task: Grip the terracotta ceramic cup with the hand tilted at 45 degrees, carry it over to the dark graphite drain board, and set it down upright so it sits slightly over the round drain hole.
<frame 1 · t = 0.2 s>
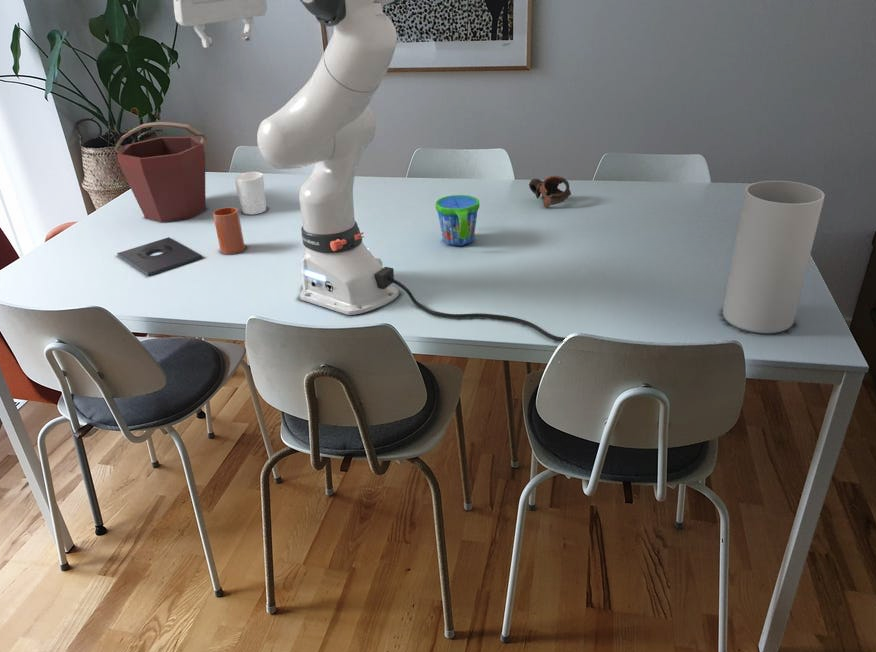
hand: (227, 43, 158), 48 cm above the table, tool pointing down, fingers open, 8 cm apart
cup: (232, 249, 184), on the table
pottery mug: (549, 202, 202), on the table
white cup: (254, 211, 208), on the table
snack cup: (458, 241, 181), on the table
bucket: (175, 212, 211), on the table
drain plate: (159, 257, 182), on the table
cylinder vase: (756, 320, 140), on the table
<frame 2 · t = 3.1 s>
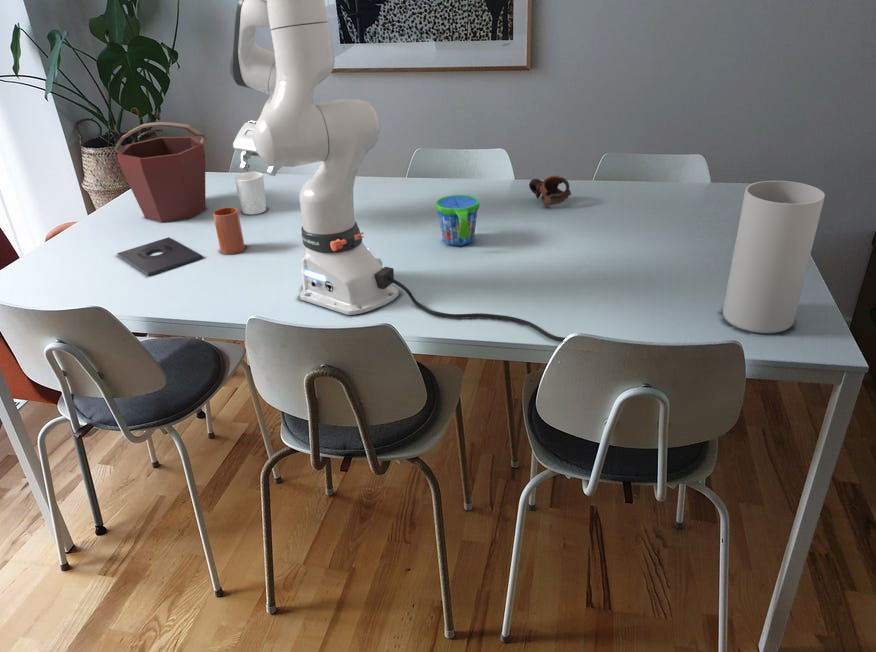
hand: (256, 172, 185), 16 cm above the table, tool tilted 45°, fingers open, 8 cm apart
nothing on the table moved.
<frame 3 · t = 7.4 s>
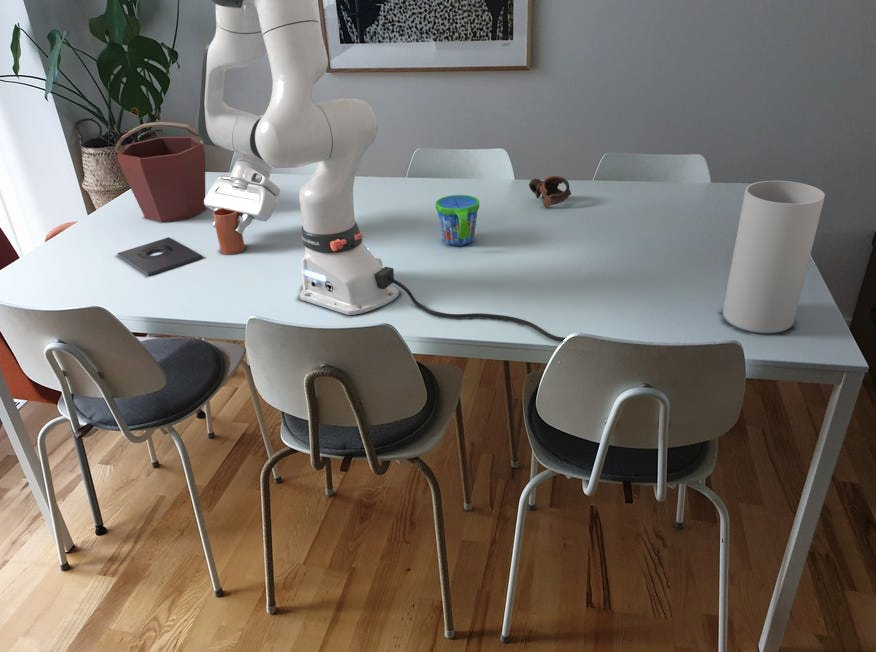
hand: (227, 230, 181), 5 cm above the table, tool tilted 45°, fingers closed on cup, 6 cm apart
cup: (232, 249, 184), on the table, touching gripper
everything else where it was.
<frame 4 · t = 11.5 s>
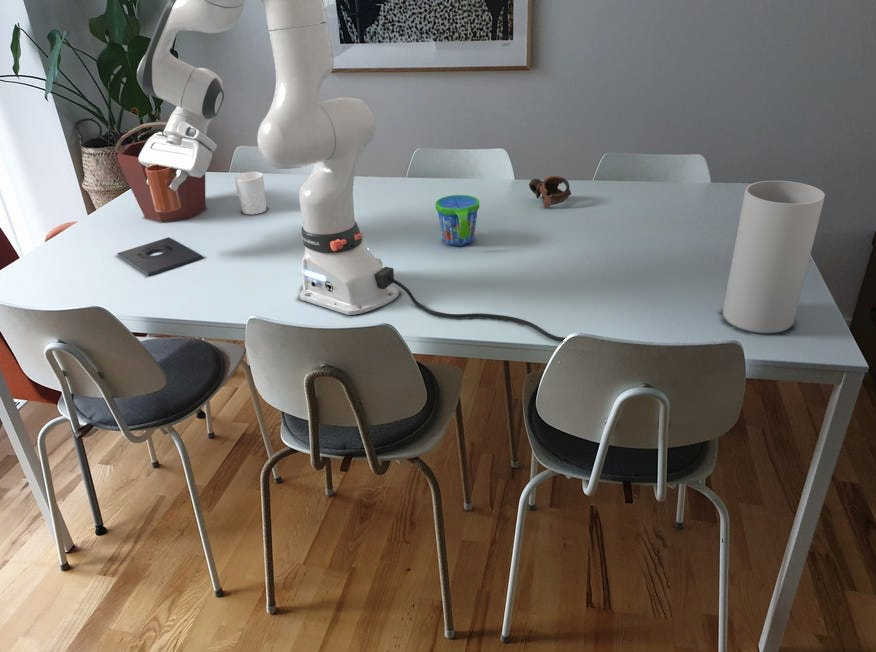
hand: (161, 187, 173), 18 cm above the table, tool tilted 45°, fingers closed on cup, 6 cm apart
cup: (168, 208, 177), point 12 cm above the table, touching gripper
everything else where it was.
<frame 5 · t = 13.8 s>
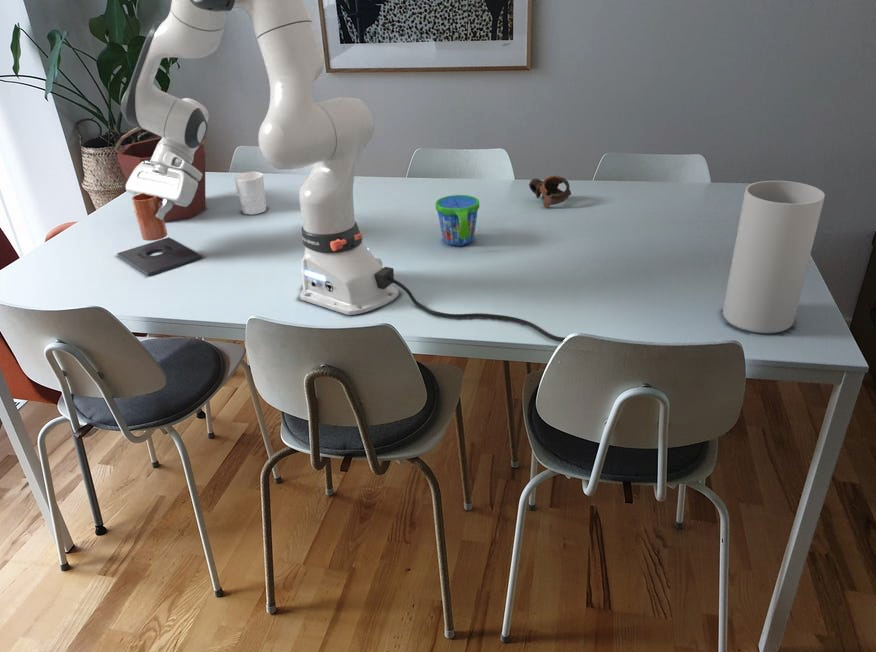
hand: (147, 215, 176), 11 cm above the table, tool tilted 45°, fingers closed on cup, 6 cm apart
cup: (154, 236, 179), point 6 cm above the table, touching gripper
everything else where it was.
when the fingers open (6 cm above the table, at t = 15.8 s): cup stays where it is, resting on drain plate.
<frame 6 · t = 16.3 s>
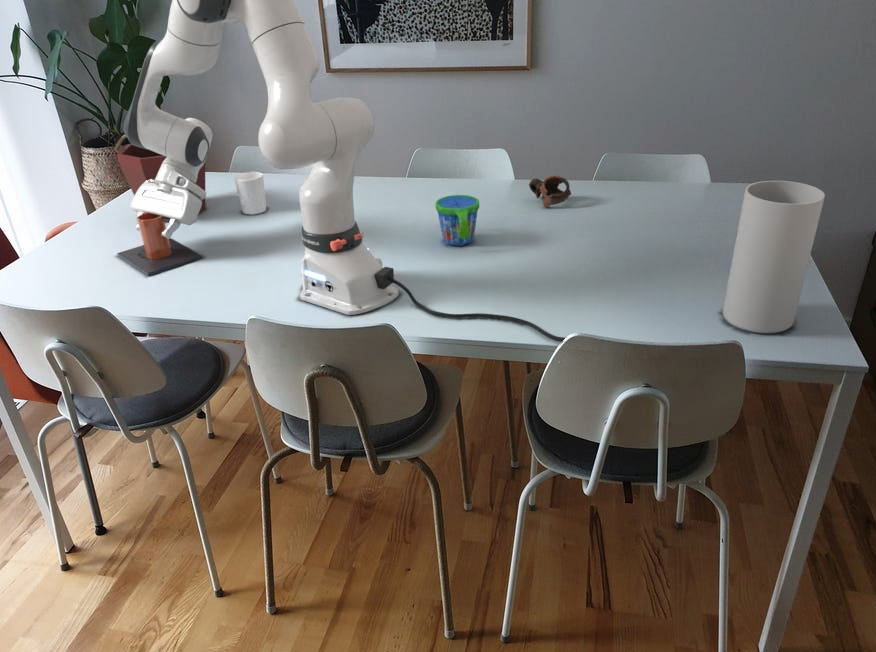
hand: (152, 234, 178), 6 cm above the table, tool tilted 45°, fingers open, 8 cm apart
cup: (159, 254, 182), point 1 cm above the table, touching drain plate
everything else where it was.
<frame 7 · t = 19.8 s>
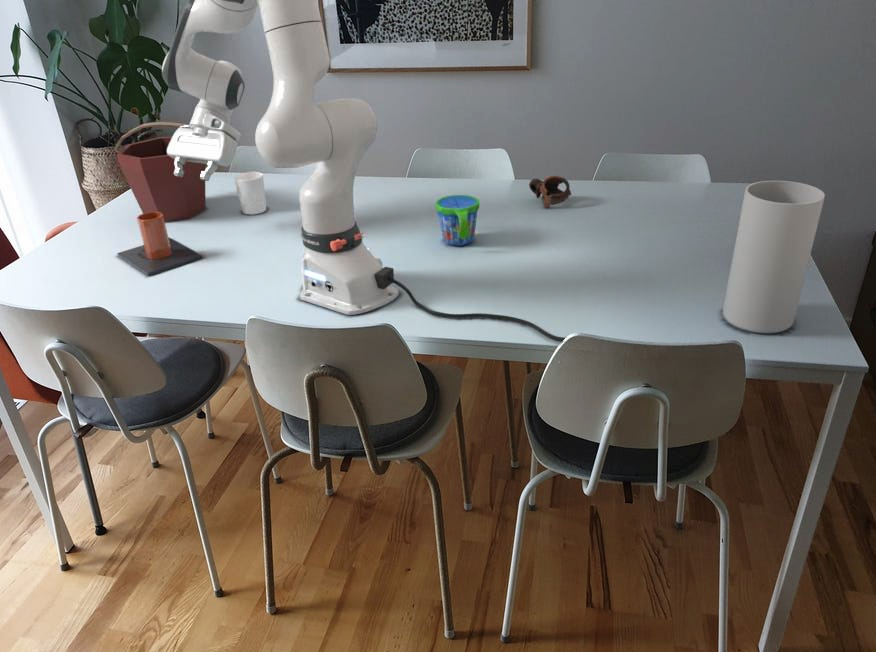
hand: (190, 178, 182), 16 cm above the table, tool tilted 40°, fingers open, 8 cm apart
nothing on the table moved.
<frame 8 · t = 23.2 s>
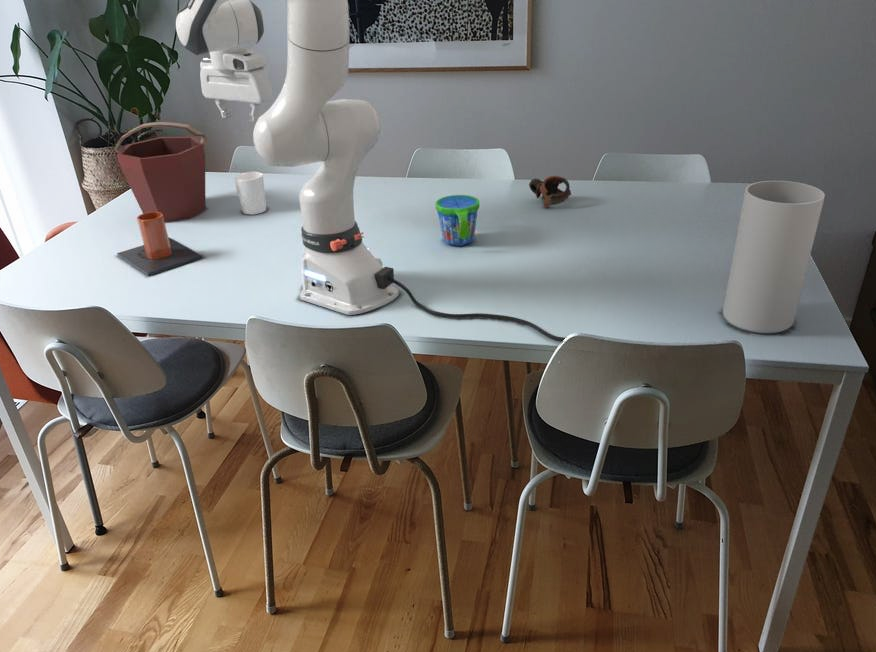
hand: (240, 119, 178), 29 cm above the table, tool pointing down, fingers open, 8 cm apart
nothing on the table moved.
at the end: cup 0.1 cm off-centre on the drain plate, point 0.8 cm above the drain plate's base; cup tilted 0°; the gripper is holding nothing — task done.
